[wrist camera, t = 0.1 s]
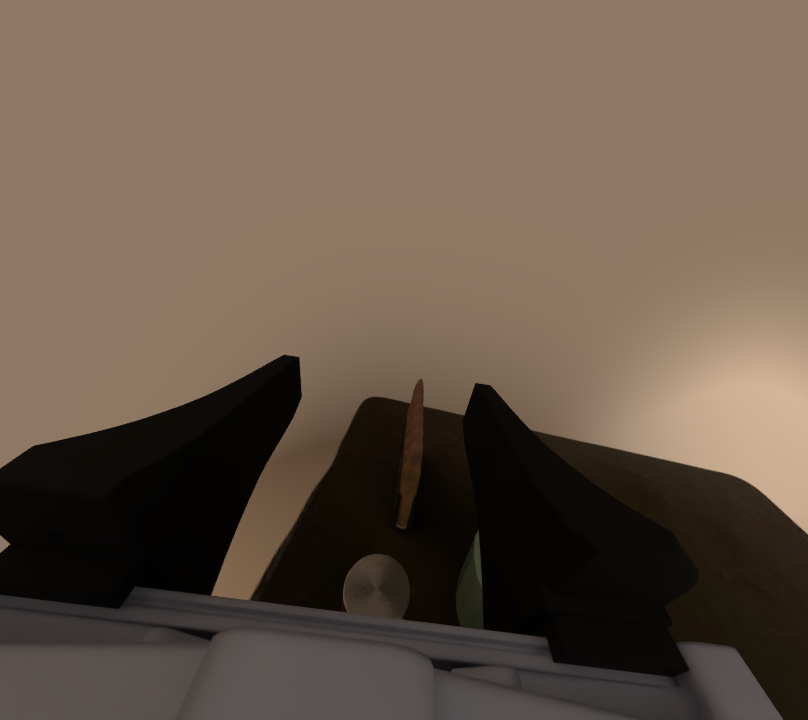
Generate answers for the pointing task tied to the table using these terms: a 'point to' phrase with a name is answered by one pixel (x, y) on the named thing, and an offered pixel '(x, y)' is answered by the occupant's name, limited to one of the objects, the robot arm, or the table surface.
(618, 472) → the table surface
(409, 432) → the ammunition clip
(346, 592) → the tin can
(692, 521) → the table surface
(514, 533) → the robot arm
